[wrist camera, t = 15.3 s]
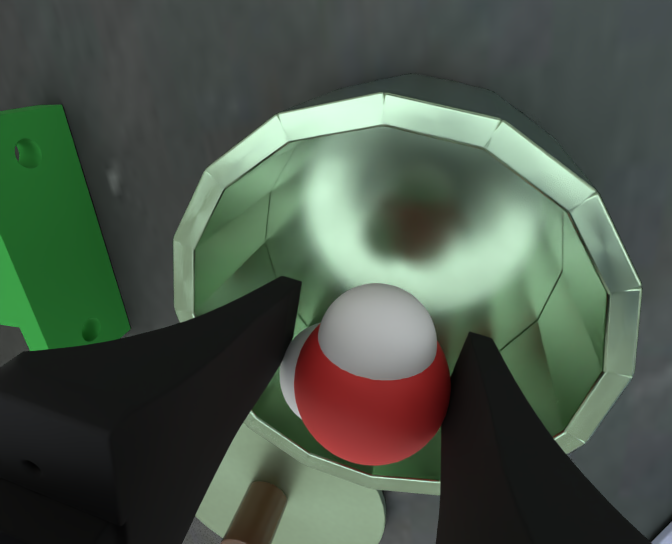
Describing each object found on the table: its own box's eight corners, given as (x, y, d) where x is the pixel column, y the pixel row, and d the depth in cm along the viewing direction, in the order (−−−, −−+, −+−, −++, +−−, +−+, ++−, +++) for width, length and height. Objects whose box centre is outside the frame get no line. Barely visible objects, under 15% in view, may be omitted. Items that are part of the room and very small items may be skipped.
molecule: (439, 400, 15) (430, 521, 11) (299, 368, 15) (249, 470, 12) (471, 267, 12) (475, 366, 8) (303, 239, 13) (241, 318, 9)
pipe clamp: (-6, 104, 19) (-129, 120, 15) (64, 104, 18) (-48, 120, 14) (73, 321, 24) (-4, 376, 20) (131, 329, 23) (62, 388, 19)
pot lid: (416, 441, 22) (404, 529, 18) (361, 578, 28) (344, 662, 24) (170, 358, 23) (112, 421, 20) (174, 504, 30) (131, 572, 26)
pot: (658, 125, 13) (775, 179, 8) (505, 411, 19) (518, 543, 14) (270, 40, 15) (168, 42, 10) (245, 328, 21) (175, 419, 16)
